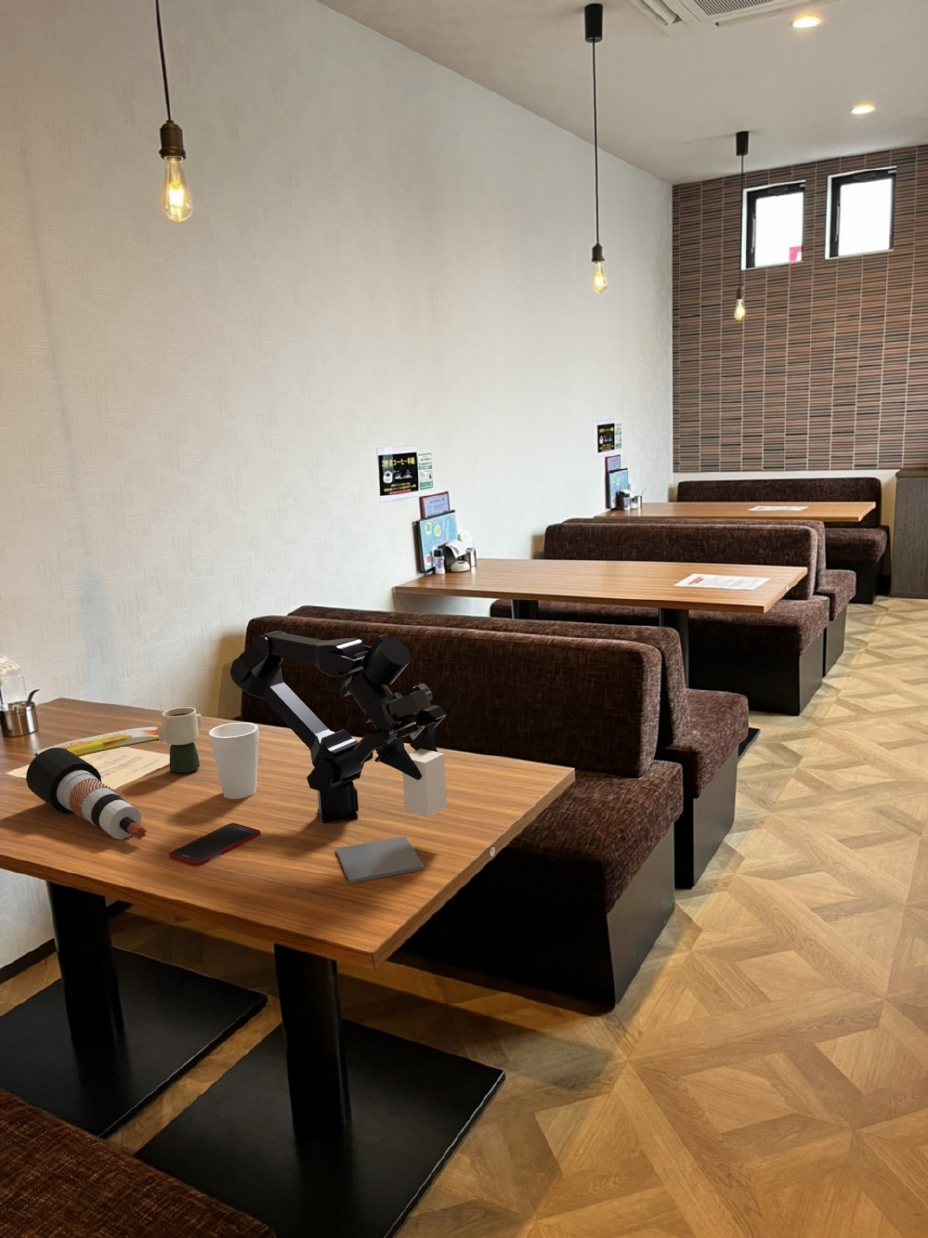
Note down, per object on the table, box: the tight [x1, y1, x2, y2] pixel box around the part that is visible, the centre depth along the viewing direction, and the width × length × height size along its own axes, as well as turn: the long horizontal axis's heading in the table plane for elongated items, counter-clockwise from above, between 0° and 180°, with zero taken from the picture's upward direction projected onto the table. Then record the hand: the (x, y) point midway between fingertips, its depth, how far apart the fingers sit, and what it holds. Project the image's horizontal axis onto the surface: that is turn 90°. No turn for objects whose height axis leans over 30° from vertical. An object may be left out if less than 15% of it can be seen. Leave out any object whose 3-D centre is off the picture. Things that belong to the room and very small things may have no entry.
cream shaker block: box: [402, 749, 448, 818], centre depth 157 cm, size 5×5×10 cm
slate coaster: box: [335, 835, 425, 884], centre depth 152 cm, size 12×12×1 cm
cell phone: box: [168, 822, 261, 867], centre depth 161 cm, size 8×15×1 cm, turn 146°
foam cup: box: [208, 722, 260, 800], centre depth 183 cm, size 10×9×13 cm
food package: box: [35, 725, 159, 757], centre depth 217 cm, size 27×2×10 cm
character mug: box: [157, 706, 203, 774], centre depth 197 cm, size 11×7×13 cm, turn 144°
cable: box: [25, 747, 147, 841], centre depth 173 cm, size 10×34×10 cm, turn 47°
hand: (430, 773), depth 155 cm, fingers closed on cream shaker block, 5 cm apart
